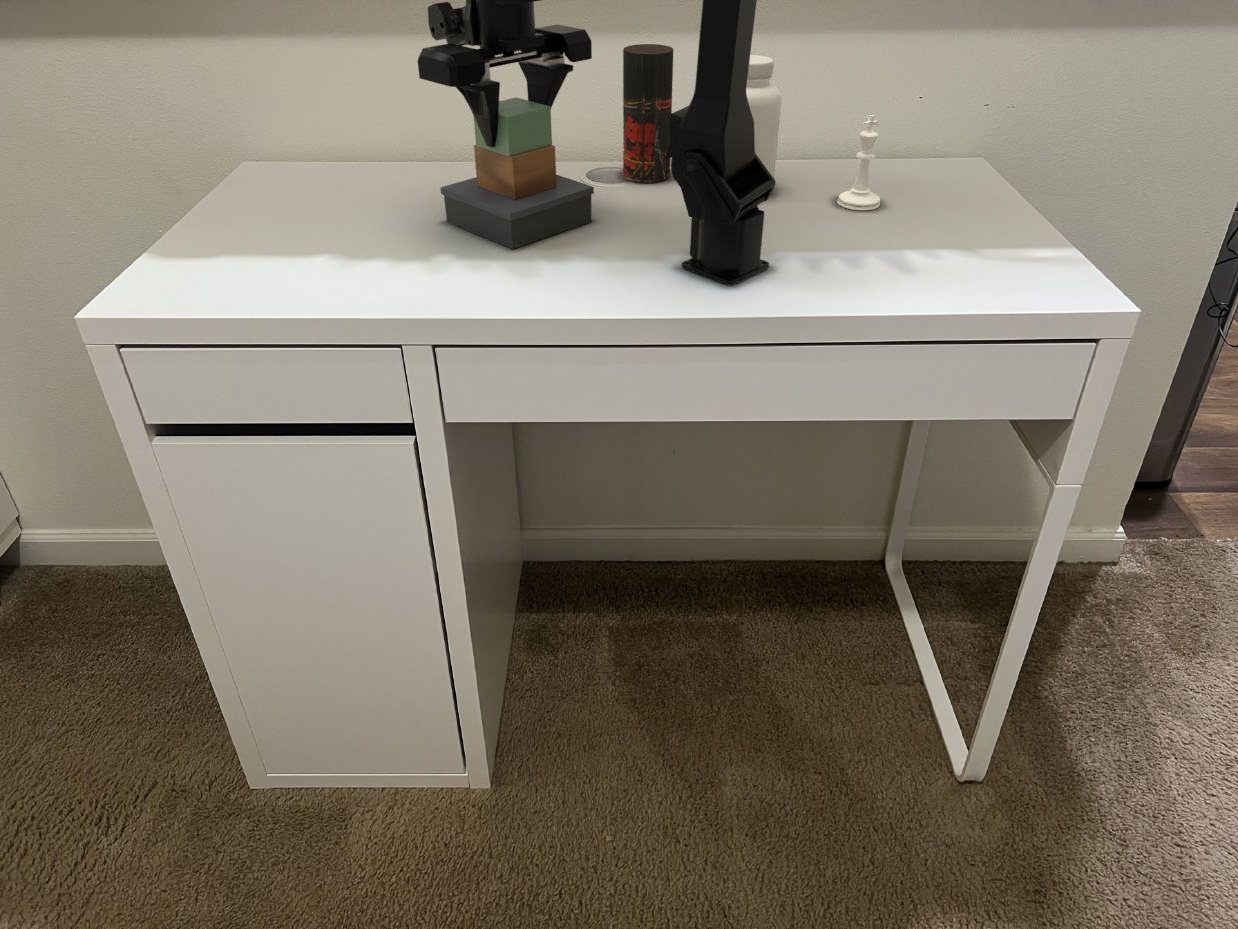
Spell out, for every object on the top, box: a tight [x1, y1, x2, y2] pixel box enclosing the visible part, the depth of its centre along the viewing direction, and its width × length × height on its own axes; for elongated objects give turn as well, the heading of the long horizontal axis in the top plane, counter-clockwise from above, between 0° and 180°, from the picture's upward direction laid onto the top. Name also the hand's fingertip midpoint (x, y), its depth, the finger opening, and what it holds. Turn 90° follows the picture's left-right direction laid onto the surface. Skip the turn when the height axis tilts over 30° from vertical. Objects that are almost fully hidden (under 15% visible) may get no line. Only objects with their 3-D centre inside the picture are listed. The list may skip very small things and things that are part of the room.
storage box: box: [440, 174, 595, 250], centre depth 103 cm, size 12×12×4 cm
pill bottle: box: [746, 54, 782, 179], centre depth 108 cm, size 8×8×15 cm
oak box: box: [473, 144, 557, 200], centre depth 100 cm, size 6×6×4 cm
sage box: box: [473, 96, 553, 157], centre depth 98 cm, size 6×6×4 cm
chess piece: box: [837, 114, 881, 211], centre depth 106 cm, size 5×5×10 cm
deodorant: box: [622, 43, 674, 184], centre depth 113 cm, size 6×6×15 cm
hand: (514, 140), depth 99 cm, fingers closed on sage box, 6 cm apart
